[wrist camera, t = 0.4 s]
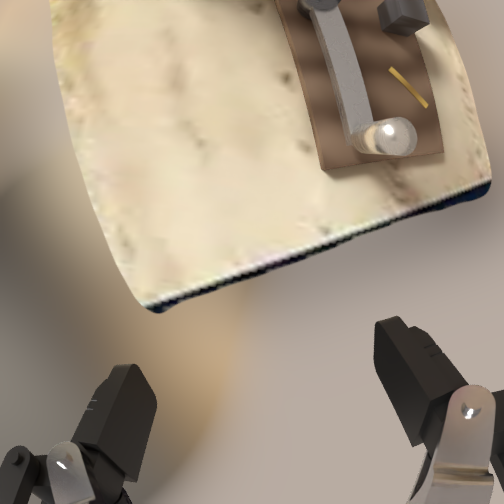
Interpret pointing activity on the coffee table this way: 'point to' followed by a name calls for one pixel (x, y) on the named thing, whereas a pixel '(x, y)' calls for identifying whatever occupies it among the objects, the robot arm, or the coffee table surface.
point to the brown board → (367, 75)
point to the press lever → (354, 86)
